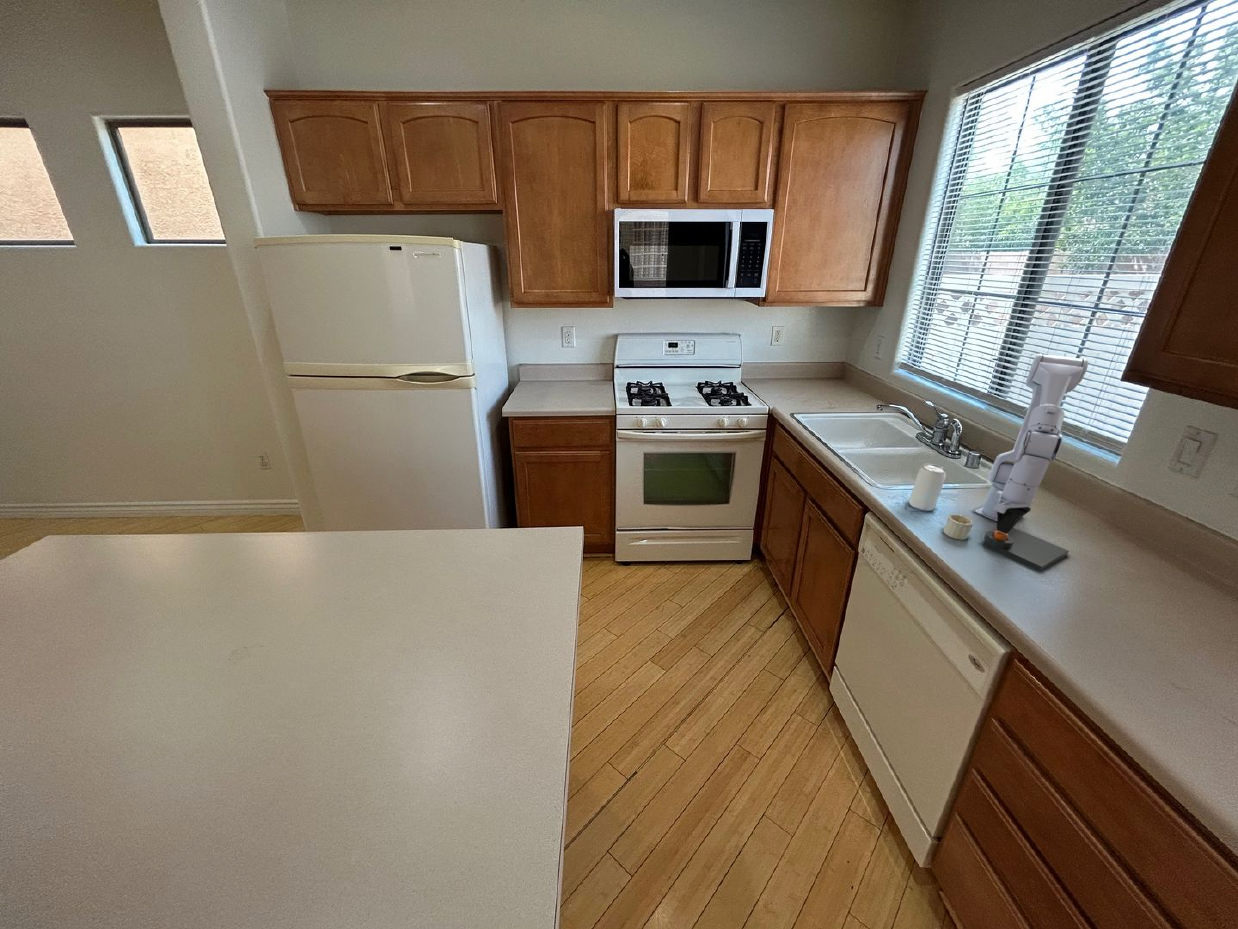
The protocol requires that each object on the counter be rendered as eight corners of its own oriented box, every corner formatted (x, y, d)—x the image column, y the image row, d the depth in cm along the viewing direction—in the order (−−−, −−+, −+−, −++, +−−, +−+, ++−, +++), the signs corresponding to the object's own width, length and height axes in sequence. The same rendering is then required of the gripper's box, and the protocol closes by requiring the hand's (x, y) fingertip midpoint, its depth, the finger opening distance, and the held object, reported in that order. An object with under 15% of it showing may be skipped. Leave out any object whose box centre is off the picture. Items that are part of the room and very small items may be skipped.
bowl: (950, 527, 126) (955, 512, 124) (971, 536, 121) (977, 521, 120) (939, 531, 123) (944, 516, 121) (960, 541, 119) (966, 526, 117)
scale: (1007, 530, 125) (1011, 520, 124) (1066, 555, 115) (1071, 545, 114) (977, 544, 118) (981, 534, 117) (1037, 572, 108) (1043, 561, 107)
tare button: (996, 534, 118) (998, 529, 117) (1008, 539, 116) (1010, 534, 115) (990, 536, 117) (993, 531, 116) (1002, 542, 115) (1005, 536, 114)
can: (927, 501, 138) (940, 464, 133) (938, 512, 133) (952, 473, 128) (904, 499, 139) (916, 462, 134) (914, 510, 133) (927, 472, 128)
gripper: (1019, 469, 116) (999, 516, 122) (988, 480, 110) (968, 530, 115) (1054, 480, 111) (1031, 530, 116) (1024, 493, 104) (1001, 545, 110)
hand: (1002, 531), depth 115 cm, fingers closed
